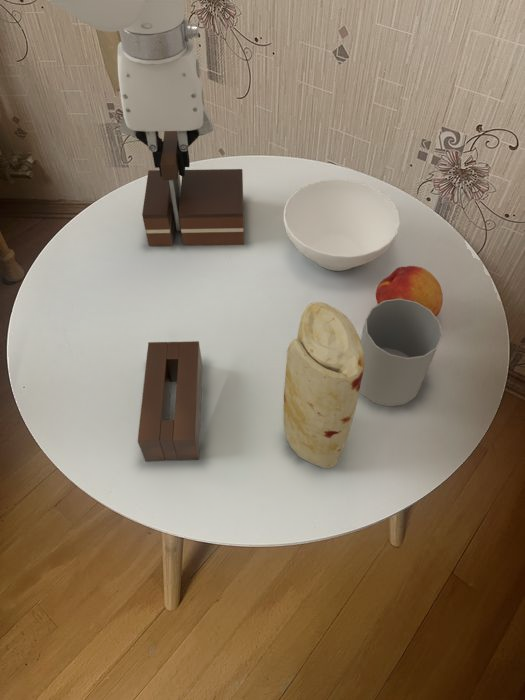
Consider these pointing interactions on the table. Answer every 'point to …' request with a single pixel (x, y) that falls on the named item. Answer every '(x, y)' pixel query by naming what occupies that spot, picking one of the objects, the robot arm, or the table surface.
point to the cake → (212, 207)
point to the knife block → (155, 427)
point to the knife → (171, 171)
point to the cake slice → (158, 211)
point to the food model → (322, 384)
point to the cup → (397, 350)
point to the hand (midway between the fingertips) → (173, 169)
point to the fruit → (412, 288)
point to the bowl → (341, 223)
